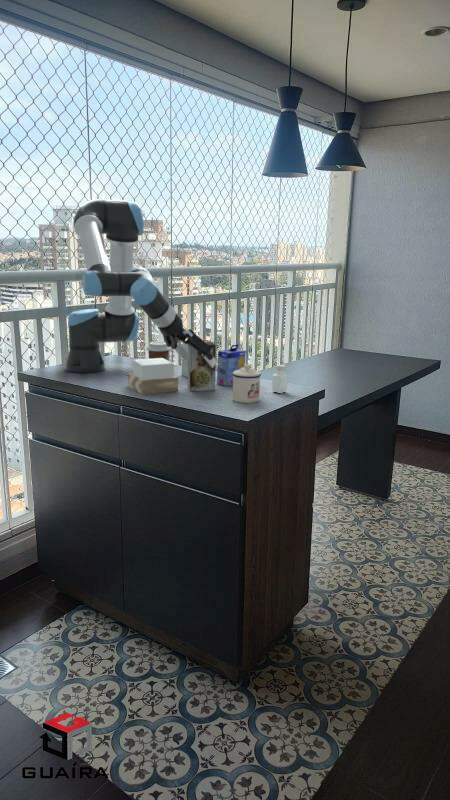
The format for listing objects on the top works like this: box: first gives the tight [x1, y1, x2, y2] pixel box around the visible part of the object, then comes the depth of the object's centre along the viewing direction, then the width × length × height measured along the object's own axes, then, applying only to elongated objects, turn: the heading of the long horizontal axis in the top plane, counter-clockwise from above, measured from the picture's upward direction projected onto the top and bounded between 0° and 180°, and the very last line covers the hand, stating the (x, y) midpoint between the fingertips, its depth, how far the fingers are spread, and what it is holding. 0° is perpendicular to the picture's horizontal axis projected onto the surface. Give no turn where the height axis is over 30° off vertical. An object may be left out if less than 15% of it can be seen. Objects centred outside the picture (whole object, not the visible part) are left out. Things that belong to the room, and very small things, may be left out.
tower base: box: [127, 372, 179, 395], centre depth 192 cm, size 13×13×5 cm
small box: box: [181, 341, 188, 378], centre depth 213 cm, size 8×6×13 cm
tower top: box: [132, 358, 175, 380], centre depth 191 cm, size 11×11×5 cm
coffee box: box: [187, 341, 217, 392], centre depth 192 cm, size 9×6×16 cm
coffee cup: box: [146, 341, 171, 361], centre depth 215 cm, size 9×9×12 cm
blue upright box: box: [216, 344, 247, 387], centre depth 202 cm, size 10×6×14 cm, turn 137°
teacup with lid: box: [232, 363, 262, 404], centre depth 181 cm, size 12×9×12 cm
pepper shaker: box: [271, 364, 288, 394], centre depth 191 cm, size 4×4×10 cm
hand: (200, 361), depth 190 cm, fingers open, 13 cm apart
